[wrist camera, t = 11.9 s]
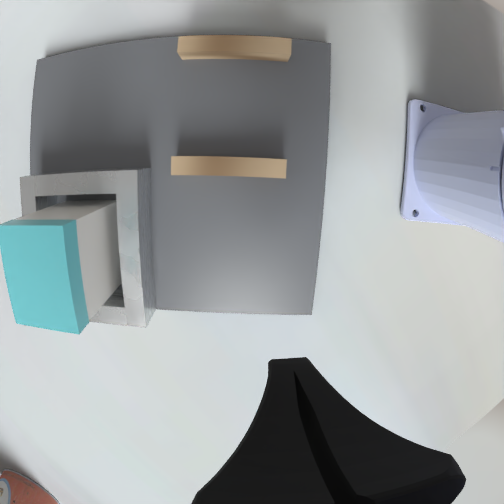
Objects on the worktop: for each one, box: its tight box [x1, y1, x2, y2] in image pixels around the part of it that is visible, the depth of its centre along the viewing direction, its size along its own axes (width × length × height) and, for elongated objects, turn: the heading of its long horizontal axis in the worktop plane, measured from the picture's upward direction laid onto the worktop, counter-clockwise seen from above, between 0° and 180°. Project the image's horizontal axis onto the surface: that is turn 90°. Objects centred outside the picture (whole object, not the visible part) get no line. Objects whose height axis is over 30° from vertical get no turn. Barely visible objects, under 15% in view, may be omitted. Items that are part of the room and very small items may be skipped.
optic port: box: [20, 168, 156, 327], centre depth 18 cm, size 8×9×2 cm
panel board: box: [30, 35, 331, 315], centre depth 18 cm, size 19×17×1 cm
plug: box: [0, 200, 122, 334], centre depth 16 cm, size 4×5×7 cm
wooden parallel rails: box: [171, 35, 292, 179], centre depth 16 cm, size 6×8×2 cm
